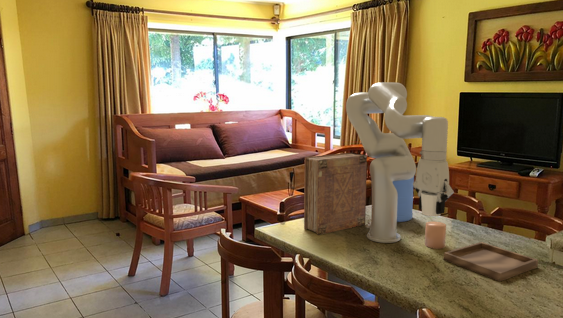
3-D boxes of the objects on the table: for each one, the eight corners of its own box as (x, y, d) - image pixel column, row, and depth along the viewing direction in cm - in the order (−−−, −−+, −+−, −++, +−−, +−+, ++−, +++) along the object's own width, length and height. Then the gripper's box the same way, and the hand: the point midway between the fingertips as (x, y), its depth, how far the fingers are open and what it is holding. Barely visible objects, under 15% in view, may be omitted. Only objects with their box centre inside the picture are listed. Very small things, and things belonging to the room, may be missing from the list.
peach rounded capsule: (420, 244, 161) (421, 223, 160) (433, 240, 165) (434, 220, 163) (436, 250, 155) (437, 228, 154) (449, 246, 159) (450, 225, 157)
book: (317, 235, 172) (317, 160, 168) (303, 229, 180) (303, 157, 175) (365, 224, 185) (367, 154, 181) (351, 219, 193) (352, 152, 189)
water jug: (418, 217, 196) (421, 155, 192) (401, 224, 185) (403, 159, 181) (387, 210, 207) (389, 152, 203) (369, 217, 195) (371, 155, 191)
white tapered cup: (444, 217, 137) (444, 195, 136) (421, 216, 139) (421, 194, 138) (441, 211, 144) (441, 190, 143) (419, 210, 145) (420, 190, 144)
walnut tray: (443, 259, 146) (443, 252, 146) (480, 248, 156) (481, 241, 156) (499, 281, 129) (500, 273, 129) (537, 267, 139) (538, 259, 139)
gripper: (405, 153, 144) (403, 206, 147) (448, 160, 129) (445, 219, 132) (421, 152, 148) (419, 203, 151) (465, 158, 133) (461, 215, 136)
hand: (431, 210), depth 141 cm, fingers closed on white tapered cup, 6 cm apart
